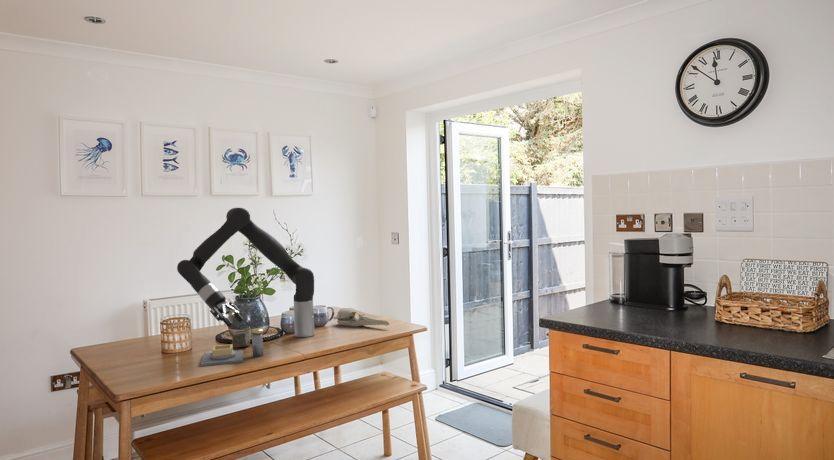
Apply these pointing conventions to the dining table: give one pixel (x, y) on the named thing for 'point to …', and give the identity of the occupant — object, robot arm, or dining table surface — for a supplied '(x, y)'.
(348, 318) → the bird skull
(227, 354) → the grey tray with block
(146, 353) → the dining table surface
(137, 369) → the dining table surface
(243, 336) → the rock
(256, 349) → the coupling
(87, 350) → the dining table surface
